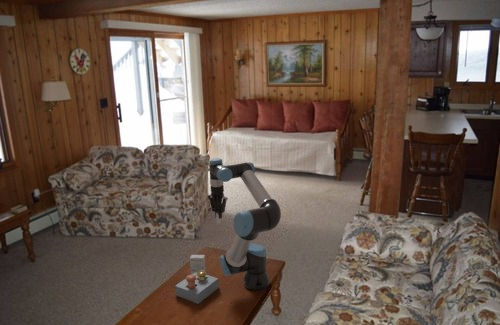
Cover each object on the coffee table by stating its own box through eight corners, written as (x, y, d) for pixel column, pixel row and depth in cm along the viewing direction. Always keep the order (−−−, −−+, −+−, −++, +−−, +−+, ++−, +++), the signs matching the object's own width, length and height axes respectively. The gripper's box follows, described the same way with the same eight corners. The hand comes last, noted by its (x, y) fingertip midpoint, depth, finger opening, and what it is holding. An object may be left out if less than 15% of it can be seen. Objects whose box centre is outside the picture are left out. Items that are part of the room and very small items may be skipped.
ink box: (206, 271, 251) (205, 254, 248) (204, 276, 246) (203, 258, 243) (192, 271, 252) (191, 254, 249) (190, 275, 247) (189, 258, 244)
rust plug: (199, 290, 227) (198, 276, 225) (192, 295, 223) (191, 280, 220) (191, 287, 230) (190, 273, 228) (185, 292, 226) (183, 278, 223)
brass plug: (209, 285, 235) (208, 271, 232) (203, 289, 230) (202, 275, 228) (202, 282, 238) (201, 269, 235) (195, 287, 233) (194, 273, 231)
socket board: (218, 287, 234) (218, 278, 232) (198, 304, 219) (197, 294, 218) (197, 280, 242) (196, 271, 241) (176, 295, 228) (175, 285, 226)
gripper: (230, 184, 235) (231, 222, 241) (211, 181, 242) (214, 218, 248) (222, 188, 229) (224, 227, 235) (203, 185, 236) (206, 223, 242)
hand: (219, 223), depth 242 cm, fingers closed
